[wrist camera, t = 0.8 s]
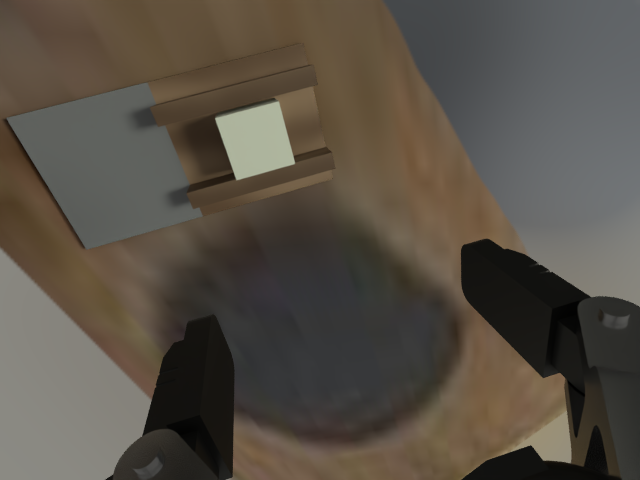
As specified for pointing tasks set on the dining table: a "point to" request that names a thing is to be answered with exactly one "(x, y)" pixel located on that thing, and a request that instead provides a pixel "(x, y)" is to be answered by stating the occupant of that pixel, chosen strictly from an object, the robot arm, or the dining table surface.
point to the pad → (108, 164)
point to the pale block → (255, 138)
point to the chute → (231, 92)
